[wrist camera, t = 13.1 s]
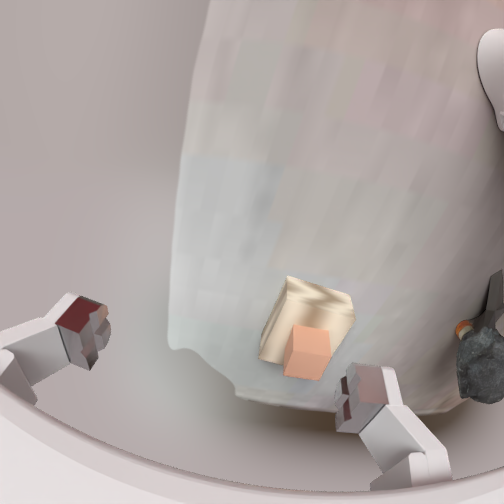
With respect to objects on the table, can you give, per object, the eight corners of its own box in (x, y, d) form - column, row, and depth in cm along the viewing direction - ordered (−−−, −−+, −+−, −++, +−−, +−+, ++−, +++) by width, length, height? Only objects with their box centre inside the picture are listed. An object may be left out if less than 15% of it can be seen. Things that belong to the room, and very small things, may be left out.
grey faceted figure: (431, 308, 43) (471, 391, 27) (502, 269, 38) (557, 336, 22) (440, 357, 48) (468, 431, 32) (502, 323, 43) (541, 388, 27)
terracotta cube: (328, 330, 40) (331, 356, 35) (317, 354, 42) (319, 380, 38) (293, 324, 40) (293, 350, 35) (284, 349, 42) (283, 375, 38)
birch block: (349, 293, 44) (355, 319, 38) (317, 347, 49) (318, 373, 44) (287, 274, 43) (286, 299, 38) (261, 332, 49) (258, 358, 44)
